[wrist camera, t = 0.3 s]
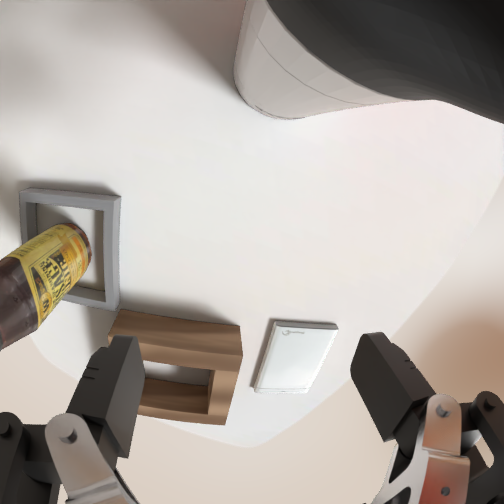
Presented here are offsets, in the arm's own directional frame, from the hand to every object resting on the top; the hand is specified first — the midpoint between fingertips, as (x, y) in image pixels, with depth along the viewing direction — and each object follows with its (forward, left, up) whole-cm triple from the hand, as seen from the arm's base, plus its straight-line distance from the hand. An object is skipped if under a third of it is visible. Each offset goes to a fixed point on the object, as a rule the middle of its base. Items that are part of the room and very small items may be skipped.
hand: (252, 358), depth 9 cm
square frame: (+6, -17, -19) cm, 26 cm away
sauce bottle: (+6, -17, -19) cm, 26 cm away
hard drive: (+18, +11, -19) cm, 29 cm away
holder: (+20, -4, -19) cm, 28 cm away
